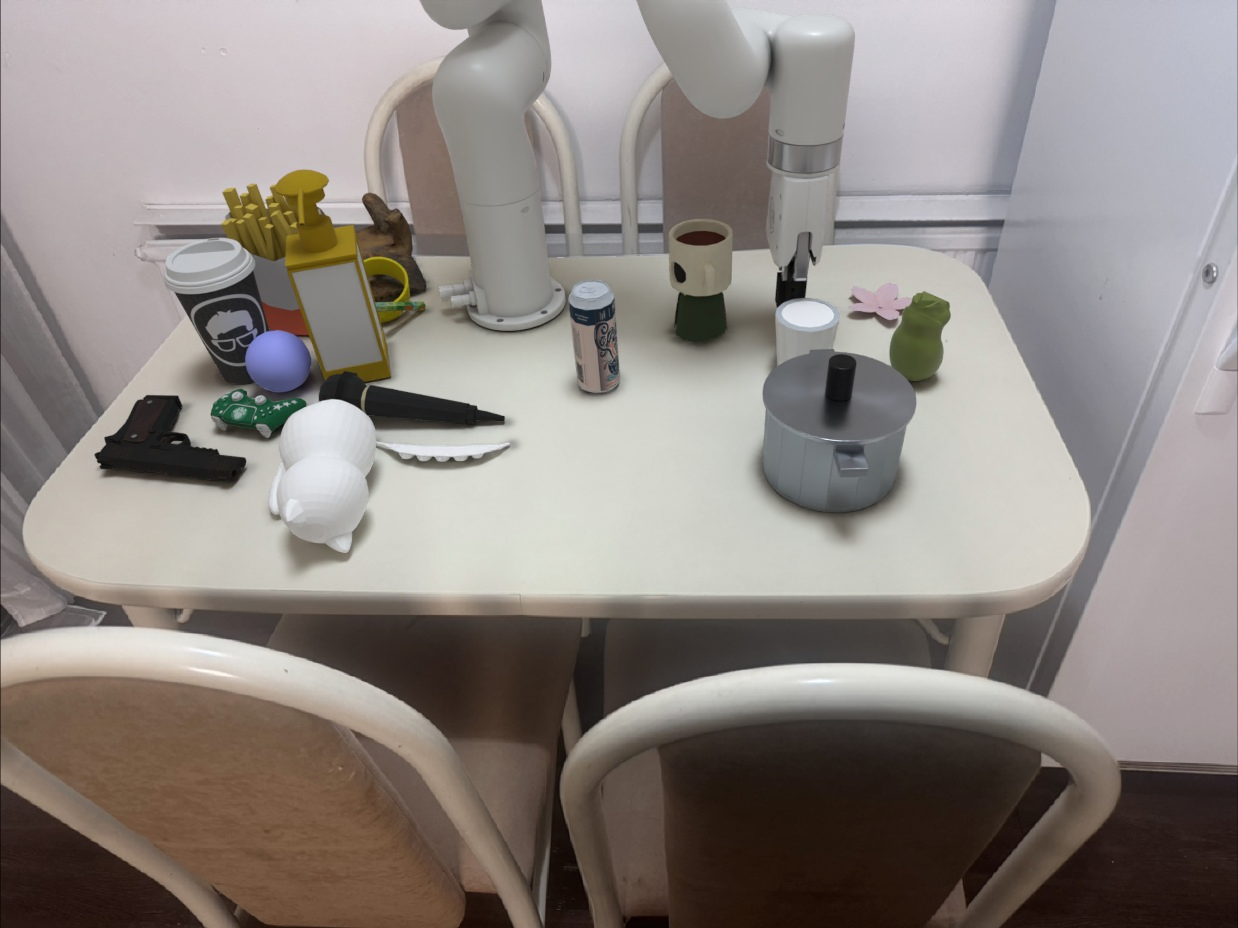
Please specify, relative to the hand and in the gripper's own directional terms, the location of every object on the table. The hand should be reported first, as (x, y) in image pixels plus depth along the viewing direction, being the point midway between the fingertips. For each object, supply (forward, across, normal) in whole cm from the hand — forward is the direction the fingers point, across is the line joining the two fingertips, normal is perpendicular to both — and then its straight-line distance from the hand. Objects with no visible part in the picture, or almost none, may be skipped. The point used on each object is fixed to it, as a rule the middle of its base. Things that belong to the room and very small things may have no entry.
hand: (789, 305), depth 101 cm
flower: (+3, -4, +11) cm, 13 cm away
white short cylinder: (+4, +8, +1) cm, 9 cm away
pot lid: (-5, +25, 0) cm, 26 cm away
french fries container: (+4, -5, -60) cm, 60 cm away
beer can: (+4, +9, -22) cm, 24 cm away
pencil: (-5, +6, -52) cm, 53 cm away
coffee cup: (+4, +3, -64) cm, 65 cm away
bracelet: (-1, -7, -50) cm, 51 cm away
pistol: (+3, +11, -65) cm, 66 cm away
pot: (+3, +25, +1) cm, 25 cm away
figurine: (+4, -27, -62) cm, 67 cm away
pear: (+3, +10, +12) cm, 16 cm away
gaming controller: (+2, +11, -59) cm, 60 cm away
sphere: (+3, +5, -57) cm, 57 cm away
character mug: (+4, 0, -10) cm, 11 cm away
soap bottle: (+4, +7, -50) cm, 51 cm away
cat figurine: (-1, +21, -49) cm, 53 cm away
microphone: (+3, +16, -32) cm, 36 cm away
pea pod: (+2, +21, -39) cm, 44 cm away
